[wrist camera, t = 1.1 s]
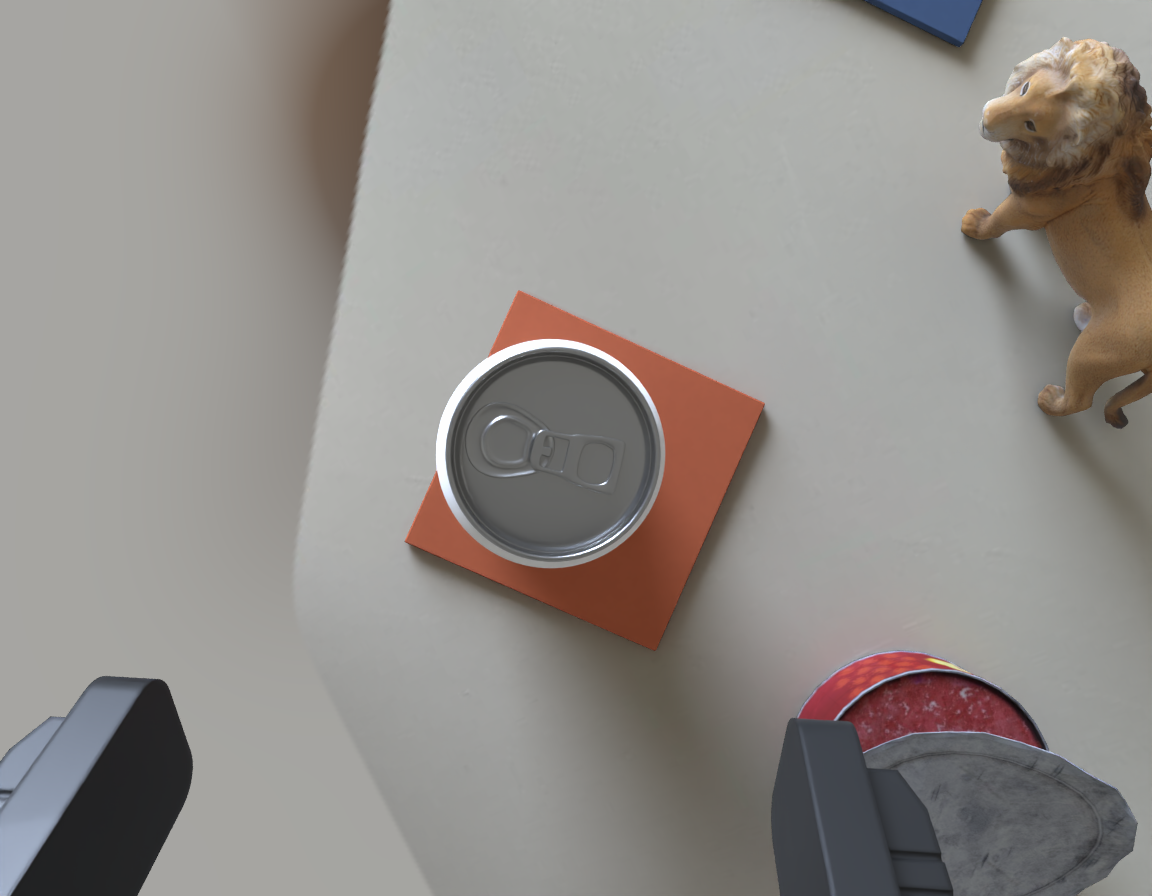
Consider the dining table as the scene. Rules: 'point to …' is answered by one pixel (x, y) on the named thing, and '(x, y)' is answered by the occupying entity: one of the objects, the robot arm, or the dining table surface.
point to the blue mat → (935, 16)
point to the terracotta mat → (677, 518)
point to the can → (550, 453)
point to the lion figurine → (1082, 206)
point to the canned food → (980, 776)
